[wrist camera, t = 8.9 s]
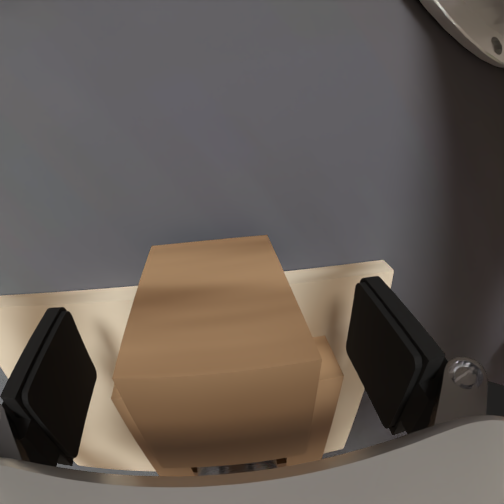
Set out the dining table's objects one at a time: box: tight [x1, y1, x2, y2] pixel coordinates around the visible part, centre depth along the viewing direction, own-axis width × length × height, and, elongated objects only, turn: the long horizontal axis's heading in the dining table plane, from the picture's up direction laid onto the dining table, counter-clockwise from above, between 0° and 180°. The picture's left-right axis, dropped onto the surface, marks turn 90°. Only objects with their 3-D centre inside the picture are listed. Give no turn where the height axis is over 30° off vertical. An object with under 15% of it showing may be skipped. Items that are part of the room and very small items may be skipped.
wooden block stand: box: [111, 235, 344, 477], centre depth 11 cm, size 14×9×6 cm, turn 3°
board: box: [0, 260, 394, 471], centre depth 15 cm, size 20×15×1 cm
